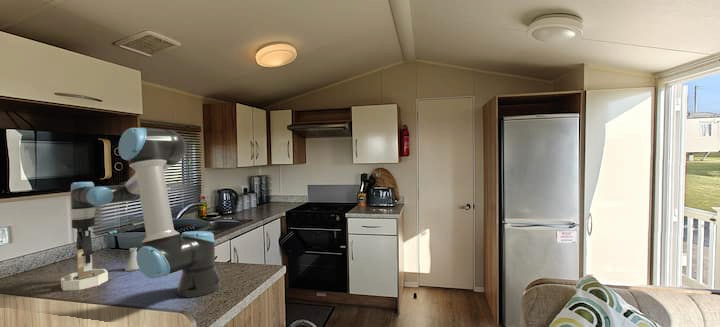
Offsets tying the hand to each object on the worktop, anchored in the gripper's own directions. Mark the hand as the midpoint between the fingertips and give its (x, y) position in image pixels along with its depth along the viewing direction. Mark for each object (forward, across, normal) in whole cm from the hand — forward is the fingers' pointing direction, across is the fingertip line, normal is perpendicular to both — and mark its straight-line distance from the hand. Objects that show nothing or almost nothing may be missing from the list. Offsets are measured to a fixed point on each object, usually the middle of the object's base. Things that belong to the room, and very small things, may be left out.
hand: (84, 267), depth 137 cm
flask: (+7, +6, -19) cm, 21 cm away
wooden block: (+6, 0, 0) cm, 6 cm away
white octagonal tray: (+7, 0, 0) cm, 7 cm away
